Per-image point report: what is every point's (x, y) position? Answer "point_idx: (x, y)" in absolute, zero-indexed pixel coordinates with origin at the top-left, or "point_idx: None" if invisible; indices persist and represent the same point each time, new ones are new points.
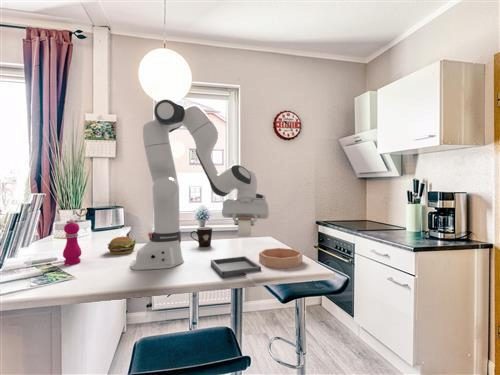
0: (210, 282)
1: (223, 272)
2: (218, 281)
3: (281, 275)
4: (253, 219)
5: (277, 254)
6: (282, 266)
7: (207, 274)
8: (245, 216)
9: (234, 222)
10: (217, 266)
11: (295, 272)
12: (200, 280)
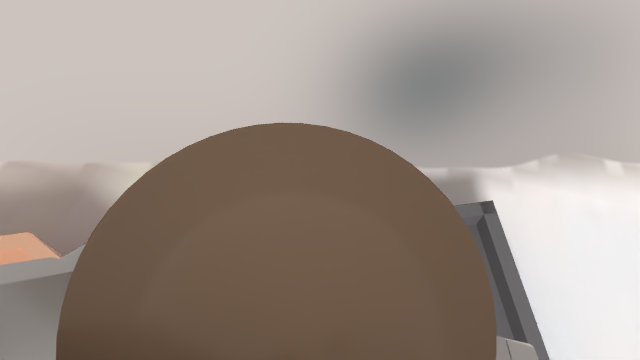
0: (541, 171)
1: (482, 203)
2: (499, 175)
3: (128, 186)
4: (62, 273)
5: None
6: (60, 254)
7: (582, 313)
8: (241, 331)
9: (530, 345)
10: (534, 325)
11: (16, 216)
12: (604, 212)
